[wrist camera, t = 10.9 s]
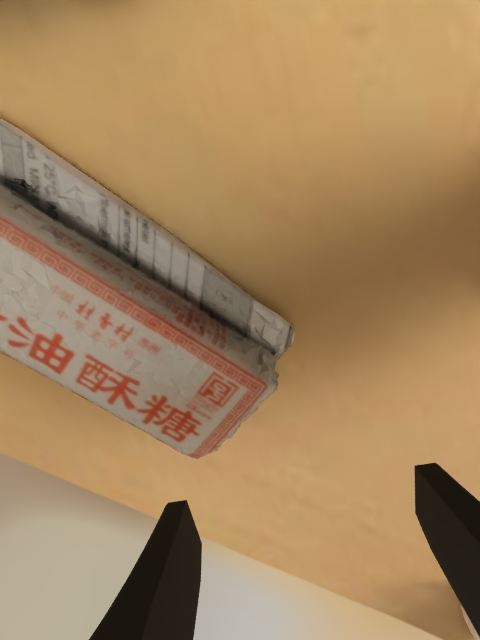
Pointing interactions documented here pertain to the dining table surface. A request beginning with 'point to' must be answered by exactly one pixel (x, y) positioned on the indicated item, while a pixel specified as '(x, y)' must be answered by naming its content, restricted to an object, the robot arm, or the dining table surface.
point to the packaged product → (125, 307)
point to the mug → (470, 625)
